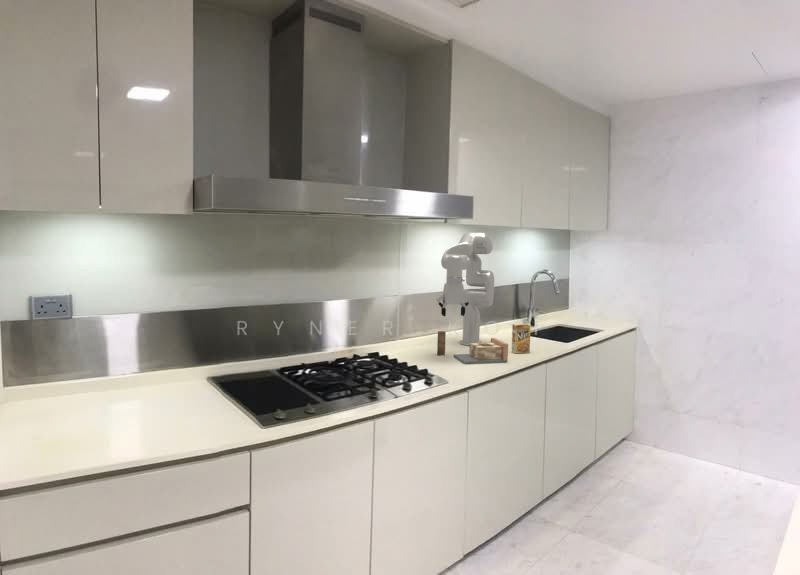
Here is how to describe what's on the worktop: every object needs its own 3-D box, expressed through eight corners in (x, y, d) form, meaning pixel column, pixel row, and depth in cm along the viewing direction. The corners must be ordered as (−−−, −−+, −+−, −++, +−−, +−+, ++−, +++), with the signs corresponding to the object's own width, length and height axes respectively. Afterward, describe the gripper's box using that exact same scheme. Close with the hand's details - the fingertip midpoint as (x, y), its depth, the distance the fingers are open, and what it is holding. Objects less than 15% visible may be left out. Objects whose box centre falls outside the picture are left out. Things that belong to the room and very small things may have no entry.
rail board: (453, 356, 255) (454, 338, 255) (493, 355, 261) (494, 337, 260) (464, 364, 240) (465, 345, 239) (507, 362, 245) (508, 343, 244)
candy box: (515, 353, 265) (516, 325, 264) (511, 352, 269) (512, 323, 268) (529, 353, 268) (531, 324, 266) (525, 351, 272) (526, 323, 270)
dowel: (436, 354, 261) (436, 331, 260) (443, 353, 262) (444, 331, 260) (438, 355, 257) (439, 332, 256) (446, 355, 258) (446, 332, 257)
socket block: (469, 354, 255) (469, 343, 255) (491, 353, 258) (491, 342, 257) (478, 360, 244) (478, 347, 243) (501, 359, 246) (501, 347, 246)
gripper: (467, 280, 250) (466, 314, 252) (434, 280, 246) (433, 315, 248) (473, 281, 243) (472, 316, 245) (439, 281, 239) (438, 317, 240)
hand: (453, 315), depth 246 cm, fingers open, 9 cm apart
